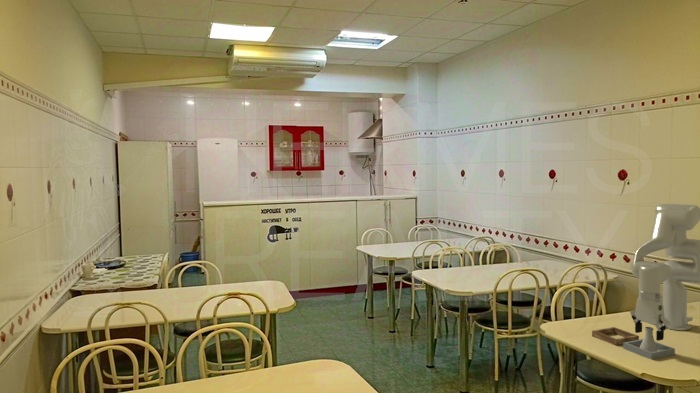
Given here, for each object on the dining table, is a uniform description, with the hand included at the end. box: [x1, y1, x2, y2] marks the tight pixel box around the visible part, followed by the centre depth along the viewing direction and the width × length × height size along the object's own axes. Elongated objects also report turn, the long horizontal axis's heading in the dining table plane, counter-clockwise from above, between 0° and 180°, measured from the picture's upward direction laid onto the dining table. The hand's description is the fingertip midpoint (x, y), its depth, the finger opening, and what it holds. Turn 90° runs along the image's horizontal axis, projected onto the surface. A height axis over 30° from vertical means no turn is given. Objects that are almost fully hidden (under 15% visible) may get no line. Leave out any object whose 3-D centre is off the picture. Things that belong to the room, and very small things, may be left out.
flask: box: [639, 326, 659, 352], centre depth 204 cm, size 7×7×10 cm
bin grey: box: [622, 338, 676, 360], centre depth 205 cm, size 13×13×2 cm
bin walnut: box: [591, 326, 640, 346], centre depth 220 cm, size 13×13×2 cm
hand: (649, 336), depth 204 cm, fingers open, 9 cm apart
